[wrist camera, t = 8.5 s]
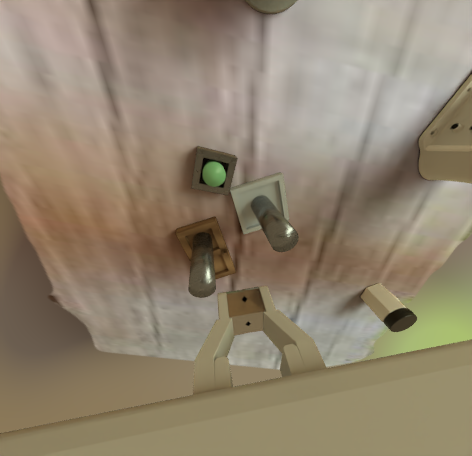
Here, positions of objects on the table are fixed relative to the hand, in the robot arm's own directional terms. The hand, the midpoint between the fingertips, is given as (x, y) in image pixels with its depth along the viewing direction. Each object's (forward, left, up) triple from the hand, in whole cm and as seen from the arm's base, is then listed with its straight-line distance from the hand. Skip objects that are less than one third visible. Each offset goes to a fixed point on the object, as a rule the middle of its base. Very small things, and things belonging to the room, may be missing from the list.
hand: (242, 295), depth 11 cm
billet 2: (+4, +11, -29) cm, 31 cm away
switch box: (-1, -1, -29) cm, 29 cm away
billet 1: (+15, 0, -28) cm, 32 cm away
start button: (-1, -1, -29) cm, 29 cm away
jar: (+28, +61, -30) cm, 74 cm away
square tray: (+4, +11, -29) cm, 32 cm away
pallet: (+18, +2, -29) cm, 35 cm away
